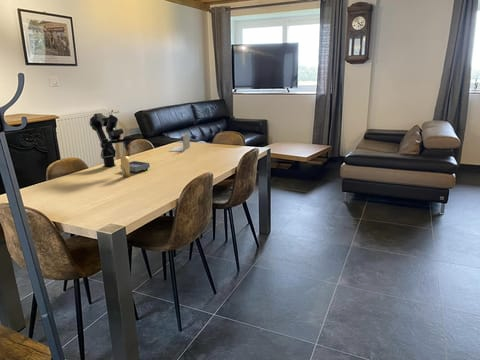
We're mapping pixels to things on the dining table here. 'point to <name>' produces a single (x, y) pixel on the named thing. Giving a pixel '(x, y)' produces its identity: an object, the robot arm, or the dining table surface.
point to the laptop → (185, 144)
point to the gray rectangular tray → (138, 166)
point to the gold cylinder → (125, 166)
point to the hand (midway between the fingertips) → (120, 152)
